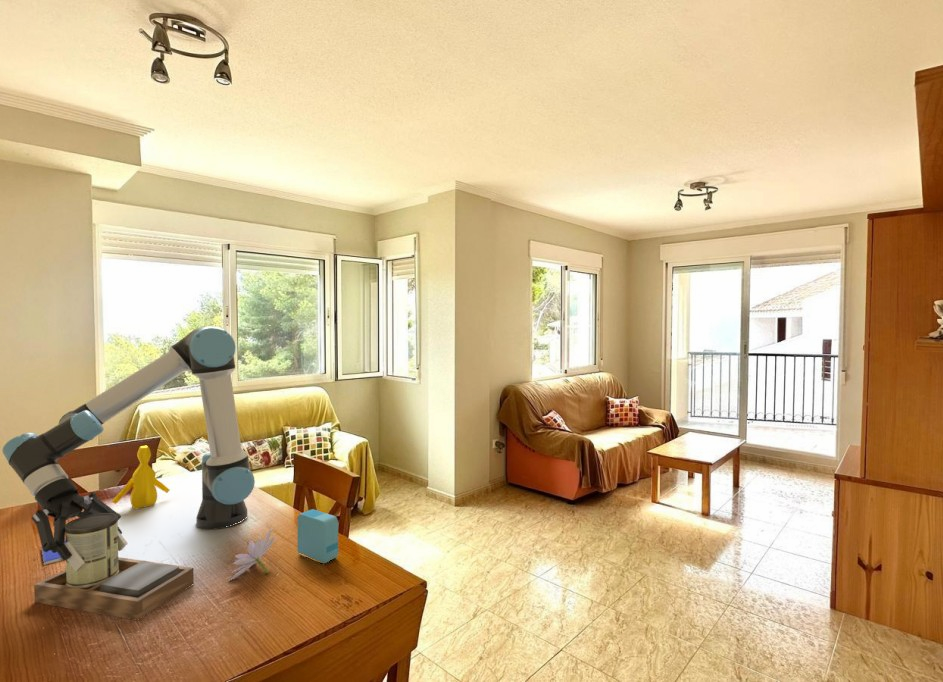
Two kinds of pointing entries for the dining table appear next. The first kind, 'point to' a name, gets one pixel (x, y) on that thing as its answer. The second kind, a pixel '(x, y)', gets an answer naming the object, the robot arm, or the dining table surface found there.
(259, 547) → the water lily
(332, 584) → the dining table surface
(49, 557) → the hard drive
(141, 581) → the wooden tray
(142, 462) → the figure statuette
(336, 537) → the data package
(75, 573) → the coffee can
